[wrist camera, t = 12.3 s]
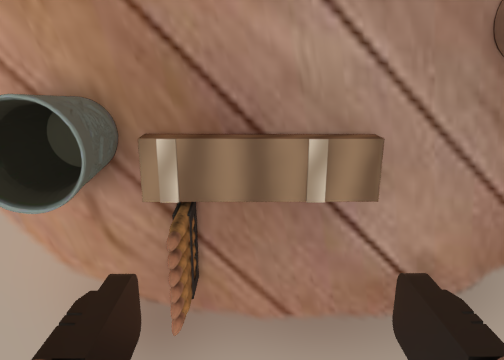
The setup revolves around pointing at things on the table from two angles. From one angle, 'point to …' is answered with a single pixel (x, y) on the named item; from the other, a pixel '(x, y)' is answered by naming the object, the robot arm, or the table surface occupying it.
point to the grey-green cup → (50, 149)
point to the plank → (260, 167)
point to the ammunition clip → (182, 262)
